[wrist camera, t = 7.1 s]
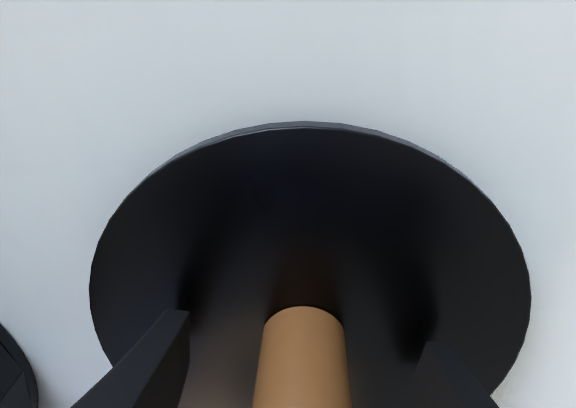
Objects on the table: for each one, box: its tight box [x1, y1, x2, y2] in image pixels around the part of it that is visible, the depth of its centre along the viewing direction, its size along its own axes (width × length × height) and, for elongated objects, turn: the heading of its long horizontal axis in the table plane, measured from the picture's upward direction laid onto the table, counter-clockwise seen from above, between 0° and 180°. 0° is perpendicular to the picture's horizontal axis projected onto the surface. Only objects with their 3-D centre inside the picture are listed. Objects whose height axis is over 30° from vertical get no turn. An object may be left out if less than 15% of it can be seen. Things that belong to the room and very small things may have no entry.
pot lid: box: [89, 121, 531, 408], centre depth 11 cm, size 12×12×4 cm
